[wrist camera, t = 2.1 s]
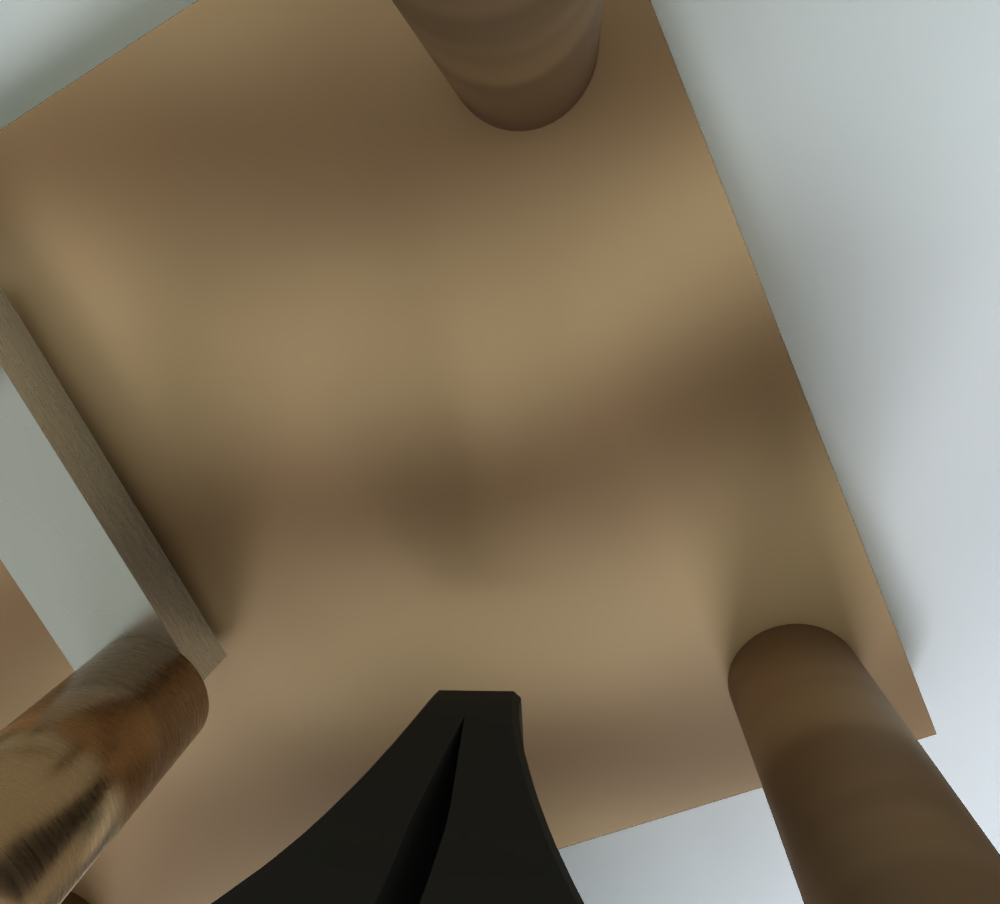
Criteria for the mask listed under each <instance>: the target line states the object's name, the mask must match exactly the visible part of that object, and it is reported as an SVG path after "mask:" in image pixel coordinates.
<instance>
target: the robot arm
mask: <svg viewBox="0 0 1000 904" xmlns="http://www.w3.org/2000/svg"><path fill="white" fill-rule="evenodd" d="M211 904H584V902H583V901H582V899H581V897H580V895H579V893H578V891H577V889H576V887H575V885H574V883H573V881H572V879H571V877H570V875H569V873H568V870H567V868H566V866H565V864H564V862H563V860H562V858H561V856H560V853H559V851H558V849H557V846H556V844H555V842H554V839H553V837H552V834H551V832H550V829H549V827H548V824H547V822H546V819H545V816H544V814H543V811H542V808H541V805H540V803H539V800H538V797H537V794H536V791H535V788H534V784H533V781H532V777H531V774H530V770H529V767H528V763H527V759H526V755H525V751H524V741H523V723H522V705H521V697H520V696H518V695H517V694H516V693H515V692H514V691H464V690H439V691H438V692H437V693H436V694H435V695H433V696H432V698H431V699H430V700H429V701H428V702H427V704H426V705H425V706H424V707H423V708H422V710H421V711H420V712H419V713H418V714H417V716H416V717H415V718H414V719H413V720H412V722H411V723H410V724H409V725H408V726H407V727H406V729H405V730H404V731H403V732H402V733H401V734H400V736H399V737H398V738H397V739H396V740H395V741H394V743H393V744H392V745H391V746H390V747H389V748H388V749H387V750H386V751H385V752H384V754H383V755H382V756H381V757H380V758H379V759H378V760H377V761H376V762H375V763H374V765H373V766H372V767H371V768H370V769H369V770H368V771H367V772H366V773H365V774H364V775H363V776H362V778H361V779H360V780H359V781H358V782H357V783H356V784H355V785H354V786H353V787H352V788H351V789H350V790H349V791H348V792H347V793H345V794H344V795H343V796H342V797H341V798H340V799H339V800H338V801H337V802H336V803H335V804H334V805H333V806H332V807H331V808H330V809H329V810H328V811H327V812H326V813H325V814H324V815H323V816H322V817H321V818H320V819H319V820H318V821H317V822H315V823H314V824H313V825H312V826H311V827H310V828H309V829H308V830H307V831H306V832H304V833H303V834H302V835H301V836H300V837H299V838H297V839H296V840H295V841H294V842H293V843H291V844H290V845H289V846H288V847H286V848H285V849H284V850H283V851H282V852H280V853H279V854H278V855H277V856H276V857H274V858H273V859H272V860H271V861H269V862H268V863H267V864H265V865H264V866H263V867H262V868H260V869H259V870H257V871H256V872H255V873H253V874H252V875H250V876H249V877H248V878H246V879H245V880H243V881H242V882H241V883H239V884H238V885H236V886H235V887H234V888H232V889H231V890H229V891H228V892H227V893H225V894H224V895H223V896H221V897H220V898H218V899H217V900H216V901H214V902H213V903H211Z"/></svg>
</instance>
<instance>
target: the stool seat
mask: <svg viewBox="0 0 1000 904" xmlns="http://www.w3.org/2000/svg"><path fill="white" fill-rule="evenodd" d="M0 285H1V287H2V289H3V290H4V292H5V294H6V295H7V297H8V299H9V300H10V302H11V303H12V305H13V307H14V308H15V310H16V312H17V313H18V315H19V317H20V318H21V320H22V321H23V323H24V325H25V326H26V328H27V330H28V331H29V333H30V335H31V336H32V338H33V339H34V341H35V343H36V344H37V346H38V348H39V349H40V351H41V352H42V354H43V356H44V357H45V359H46V361H47V362H48V364H49V366H50V367H51V369H52V370H53V372H54V374H55V375H56V377H57V379H58V380H59V382H60V384H61V385H62V387H63V388H64V390H65V392H66V393H67V395H68V397H69V398H70V400H71V402H72V403H73V405H74V406H75V408H76V410H77V411H78V413H79V415H80V416H81V418H82V420H83V421H84V423H85V424H86V426H87V428H88V429H89V431H90V433H91V434H92V436H93V437H94V439H95V441H96V442H97V444H98V446H99V447H100V449H101V451H102V452H103V454H104V455H105V457H106V459H107V460H108V462H109V464H110V465H111V467H112V469H113V470H114V472H115V473H116V475H117V477H118V478H119V480H120V482H121V483H122V485H123V487H124V488H125V490H126V491H127V493H128V495H129V496H130V498H131V500H132V501H133V503H134V505H135V506H136V508H137V509H138V511H139V513H140V514H141V516H142V518H143V519H144V521H145V522H146V524H147V526H148V527H149V529H150V531H151V532H152V534H153V536H154V537H155V539H156V540H157V542H158V544H159V545H160V547H161V549H162V550H163V552H164V554H165V555H166V557H167V558H168V560H169V562H170V563H171V565H172V567H173V568H174V570H175V572H176V573H177V575H178V576H179V578H180V580H181V581H182V583H183V585H184V586H185V588H186V590H187V591H188V593H189V594H190V596H191V598H192V599H193V601H194V603H195V604H196V606H197V607H198V609H199V611H200V612H201V614H202V616H203V617H204V619H205V621H206V622H207V624H208V625H209V627H210V629H211V630H212V632H213V634H214V635H215V637H216V639H217V640H218V642H219V643H220V645H221V647H222V648H223V650H224V652H225V653H226V655H227V656H226V657H225V658H224V659H223V660H222V661H221V662H220V663H219V664H218V666H217V667H216V668H215V669H214V670H213V671H212V672H211V673H210V674H209V676H208V677H207V678H206V679H205V680H204V684H205V686H206V689H207V693H208V699H209V712H208V717H207V720H206V723H205V725H204V727H203V728H202V730H201V731H200V732H199V734H198V735H197V736H196V737H195V739H194V740H193V741H192V742H191V744H190V745H189V746H188V747H187V749H186V750H185V751H184V752H183V753H182V755H181V756H180V757H179V758H178V760H177V761H176V762H175V763H174V765H173V766H172V767H171V768H170V769H169V771H168V772H167V773H166V774H165V776H164V777H163V778H162V779H161V781H160V782H159V783H158V784H157V785H156V787H155V788H154V789H153V790H152V792H151V793H150V794H149V795H148V797H147V798H146V799H145V800H144V802H143V803H142V804H141V805H140V806H139V808H138V809H137V810H136V811H135V813H134V814H133V815H132V816H131V818H130V819H129V820H128V821H127V822H126V824H125V825H124V826H123V827H122V829H121V830H120V831H119V832H118V834H117V835H116V836H115V837H114V838H113V840H112V841H111V842H110V843H109V845H108V846H107V847H106V848H105V850H104V851H103V852H102V853H101V854H100V856H99V857H98V858H97V859H96V861H95V862H94V863H93V864H92V866H91V867H90V868H89V869H88V870H87V872H86V873H85V874H84V875H83V877H82V878H81V879H80V880H79V882H78V883H77V884H76V885H75V886H74V888H73V889H72V890H71V891H70V893H69V894H68V895H67V896H66V898H65V899H64V900H63V901H62V903H61V904H211V903H213V902H214V901H216V900H217V899H218V898H220V897H221V896H223V895H224V894H225V893H227V892H228V891H229V890H231V889H232V888H234V887H235V886H236V885H238V884H239V883H241V882H242V881H243V880H245V879H246V878H248V877H249V876H250V875H252V874H253V873H255V872H256V871H257V870H259V869H260V868H262V867H263V866H264V865H265V864H267V863H268V862H269V861H271V860H272V859H273V858H274V857H276V856H277V855H278V854H279V853H280V852H282V851H283V850H284V849H285V848H286V847H288V846H289V845H290V844H291V843H293V842H294V841H295V840H296V839H297V838H299V837H300V836H301V835H302V834H303V833H304V832H306V831H307V830H308V829H309V828H310V827H311V826H312V825H313V824H314V823H315V822H317V821H318V820H319V819H320V818H321V817H322V816H323V815H324V814H325V813H326V812H327V811H328V810H329V809H330V808H331V807H332V806H333V805H334V804H335V803H336V802H337V801H338V800H339V799H340V798H341V797H342V796H343V795H344V794H345V793H347V792H348V791H349V790H350V789H351V788H352V787H353V786H354V785H355V784H356V783H357V782H358V781H359V780H360V779H361V778H362V776H363V775H364V774H365V773H366V772H367V771H368V770H369V769H370V768H371V767H372V766H373V765H374V763H375V762H376V761H377V760H378V759H379V758H380V757H381V756H382V755H383V754H384V752H385V751H386V750H387V749H388V748H389V747H390V746H391V745H392V744H393V743H394V741H395V740H396V739H397V738H398V737H399V736H400V734H401V733H402V732H403V731H404V730H405V729H406V727H407V726H408V725H409V724H410V723H411V722H412V720H413V719H414V718H415V717H416V716H417V714H418V713H419V712H420V711H421V710H422V708H423V707H424V706H425V705H426V704H427V702H428V701H429V700H430V699H431V698H432V696H433V695H435V694H436V693H437V692H438V691H439V690H464V691H514V692H515V693H516V694H517V695H518V696H520V697H521V705H522V723H523V741H524V751H525V755H526V759H527V763H528V767H529V770H530V774H531V777H532V781H533V784H534V788H535V791H536V794H537V797H538V800H539V803H540V805H541V808H542V811H543V814H544V816H545V819H546V822H547V824H548V827H549V829H550V832H551V834H552V837H553V839H554V842H555V844H556V846H557V849H561V848H564V847H568V846H571V845H574V844H577V843H581V842H584V841H587V840H590V839H594V838H597V837H600V836H604V835H607V834H610V833H613V832H617V831H620V830H623V829H627V828H630V827H633V826H636V825H640V824H643V823H646V822H650V821H653V820H656V819H659V818H663V817H666V816H669V815H673V814H676V813H679V812H682V811H686V810H689V809H692V808H696V807H699V806H702V805H705V804H709V803H712V802H715V801H718V800H722V799H725V798H728V797H732V796H735V795H738V794H741V793H745V792H748V791H751V790H755V789H758V788H761V787H763V790H764V793H765V795H766V798H767V801H768V804H769V807H770V809H771V812H772V815H773V818H774V820H775V823H776V826H777V829H778V832H779V834H780V837H781V840H782V843H783V846H784V848H785V851H786V854H787V857H788V860H789V862H790V865H791V868H792V871H793V874H794V876H795V879H796V882H797V885H798V888H799V890H800V893H801V896H802V899H803V902H804V904H1000V854H999V853H998V852H997V850H996V849H995V847H994V846H993V845H992V843H991V842H990V841H989V839H988V838H987V836H986V835H985V834H984V832H983V831H982V829H981V828H980V827H979V825H978V824H977V822H976V821H975V820H974V818H973V817H972V816H971V814H970V813H969V811H968V810H967V809H966V807H965V806H964V804H963V803H962V802H961V800H960V799H959V797H958V796H957V795H956V793H955V792H954V791H953V789H952V788H951V786H950V785H949V784H948V782H947V781H946V779H945V778H944V777H943V775H942V774H941V772H940V771H939V770H938V768H937V767H936V766H935V764H934V763H933V761H932V760H931V759H930V757H929V756H928V754H927V753H926V752H925V750H924V749H923V747H922V746H921V745H920V743H919V742H918V741H917V740H919V739H922V738H925V737H929V736H932V735H935V734H936V731H935V729H934V726H933V724H932V721H931V718H930V716H929V713H928V711H927V708H926V706H925V703H924V700H923V698H922V695H921V693H920V690H919V688H918V685H917V683H916V680H915V677H914V675H913V672H912V670H911V667H910V665H909V662H908V659H907V657H906V654H905V652H904V649H903V647H902V644H901V642H900V639H899V636H898V634H897V631H896V629H895V626H894V624H893V621H892V618H891V616H890V613H889V611H888V608H887V606H886V603H885V601H884V598H883V595H882V593H881V590H880V588H879V585H878V583H877V580H876V577H875V575H874V572H873V570H872V567H871V565H870V562H869V560H868V557H867V554H866V552H865V549H864V547H863V544H862V542H861V539H860V537H859V534H858V531H857V529H856V526H855V524H854V521H853V519H852V516H851V513H850V511H849V508H848V506H847V503H846V501H845V498H844V496H843V493H842V490H841V488H840V485H839V483H838V480H837V478H836V475H835V472H834V470H833V467H832V465H831V462H830V460H829V457H828V455H827V452H826V449H825V447H824V444H823V442H822V439H821V437H820V434H819V431H818V429H817V426H816V424H815V421H814V419H813V416H812V414H811V411H810V408H809V406H808V403H807V401H806V398H805V396H804V393H803V390H802V388H801V385H800V383H799V380H798V378H797V375H796V373H795V370H794V367H793V365H792V362H791V360H790V357H789V355H788V352H787V349H786V347H785V344H784V342H783V339H782V337H781V334H780V332H779V329H778V326H777V324H776V321H775V319H774V316H773V314H772V311H771V308H770V306H769V303H768V301H767V298H766V296H765V293H764V291H763V288H762V285H761V283H760V280H759V278H758V275H757V273H756V270H755V267H754V265H753V262H752V260H751V257H750V255H749V252H748V250H747V247H746V244H745V242H744V239H743V237H742V234H741V232H740V229H739V227H738V224H737V221H736V219H735V216H734V214H733V211H732V209H731V206H730V203H729V201H728V198H727V196H726V193H725V191H724V188H723V186H722V183H721V180H720V178H719V175H718V173H717V170H716V168H715V165H714V162H713V160H712V157H711V155H710V152H709V150H708V147H707V145H706V142H705V139H704V137H703V134H702V132H701V129H700V127H699V124H698V121H697V119H696V116H695V114H694V111H693V109H692V106H691V104H690V101H689V98H688V96H687V93H686V91H685V88H684V86H683V83H682V80H681V78H680V75H679V73H678V70H677V68H676V65H675V63H674V60H673V57H672V55H671V52H670V50H669V47H668V45H667V42H666V39H665V37H664V34H663V32H662V29H661V27H660V24H659V22H658V19H657V16H656V14H655V11H654V9H653V6H652V4H651V1H650V0H197V1H196V2H194V3H193V4H191V5H190V6H188V7H187V8H185V9H184V10H182V11H181V12H179V13H178V14H176V15H175V16H173V17H171V18H170V19H168V20H167V21H165V22H164V23H162V24H161V25H159V26H158V27H156V28H155V29H153V30H152V31H150V32H149V33H147V34H146V35H144V36H143V37H141V38H139V39H138V40H136V41H135V42H133V43H132V44H130V45H129V46H127V47H126V48H124V49H123V50H121V51H120V52H118V53H117V54H115V55H114V56H112V57H111V58H109V59H108V60H106V61H104V62H103V63H101V64H100V65H98V66H97V67H95V68H94V69H92V70H91V71H89V72H88V73H86V74H85V75H83V76H82V77H80V78H79V79H77V80H76V81H74V82H72V83H71V84H69V85H68V86H66V87H65V88H63V89H62V90H60V91H59V92H57V93H56V94H54V95H53V96H51V97H50V98H48V99H47V100H45V101H44V102H42V103H40V104H39V105H37V106H36V107H34V108H33V109H31V110H30V111H28V112H27V113H25V114H24V115H22V116H21V117H19V118H18V119H16V120H15V121H13V122H12V123H10V124H8V125H7V126H5V127H4V128H2V129H1V130H0ZM73 672H74V669H73V668H72V666H71V665H70V663H69V662H68V660H67V659H66V657H65V656H64V654H63V653H62V651H61V650H60V648H59V647H58V645H57V644H56V642H55V641H54V639H53V638H52V636H51V635H50V633H49V632H48V630H47V629H46V627H45V626H44V624H43V623H42V621H41V620H40V618H39V617H38V615H37V614H36V612H35V611H34V609H33V608H32V606H31V604H30V603H29V601H28V600H27V598H26V597H25V595H24V594H23V592H22V591H21V589H20V588H19V586H18V585H17V583H16V582H15V580H14V579H13V577H12V576H11V574H10V573H9V571H8V570H7V568H6V567H5V565H4V564H3V562H2V561H1V559H0V731H1V730H2V729H4V728H5V727H6V726H7V725H9V724H10V723H11V722H12V721H14V720H15V719H16V718H17V717H18V716H20V715H21V714H22V713H23V712H25V711H26V710H27V709H28V708H30V707H31V706H32V705H33V704H35V703H36V702H37V701H38V700H40V699H41V698H42V697H43V696H45V695H46V694H47V693H48V692H50V691H51V690H52V689H53V688H55V687H56V686H57V685H58V684H60V683H61V682H62V681H63V680H65V679H66V678H67V677H68V676H69V675H71V674H72V673H73Z"/></svg>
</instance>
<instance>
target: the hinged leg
mask: <svg viewBox="0 0 1000 904" xmlns="http://www.w3.org/2000/svg"><path fill="white" fill-rule="evenodd" d="M0 559H1V561H2V562H3V564H4V565H5V567H6V568H7V570H8V571H9V573H10V574H11V576H12V577H13V579H14V580H15V582H16V583H17V585H18V586H19V588H20V589H21V591H22V592H23V594H24V595H25V597H26V598H27V600H28V601H29V603H30V604H31V606H32V608H33V609H34V611H35V612H36V614H37V615H38V617H39V618H40V620H41V621H42V623H43V624H44V626H45V627H46V629H47V630H48V632H49V633H50V635H51V636H52V638H53V639H54V641H55V642H56V644H57V645H58V647H59V648H60V650H61V651H62V653H63V654H64V656H65V657H66V659H67V660H68V662H69V663H70V665H71V666H72V668H73V669H74V672H73V673H72V674H71V675H69V676H68V677H67V678H66V679H65V680H63V681H62V682H61V683H60V684H58V685H57V686H56V687H55V688H53V689H52V690H51V691H50V692H48V693H47V694H46V695H45V696H43V697H42V698H41V699H40V700H38V701H37V702H36V703H35V704H33V705H32V706H31V707H30V708H28V709H27V710H26V711H25V712H23V713H22V714H21V715H20V716H18V717H17V718H16V719H15V720H14V721H12V722H11V723H10V724H9V725H7V726H6V727H5V728H4V729H2V730H1V731H0V904H61V903H62V901H63V900H64V899H65V898H66V896H67V895H68V894H69V893H70V891H71V890H72V889H73V888H74V886H75V885H76V884H77V883H78V882H79V880H80V879H81V878H82V877H83V875H84V874H85V873H86V872H87V870H88V869H89V868H90V867H91V866H92V864H93V863H94V862H95V861H96V859H97V858H98V857H99V856H100V854H101V853H102V852H103V851H104V850H105V848H106V847H107V846H108V845H109V843H110V842H111V841H112V840H113V838H114V837H115V836H116V835H117V834H118V832H119V831H120V830H121V829H122V827H123V826H124V825H125V824H126V822H127V821H128V820H129V819H130V818H131V816H132V815H133V814H134V813H135V811H136V810H137V809H138V808H139V806H140V805H141V804H142V803H143V802H144V800H145V799H146V798H147V797H148V795H149V794H150V793H151V792H152V790H153V789H154V788H155V787H156V785H157V784H158V783H159V782H160V781H161V779H162V778H163V777H164V776H165V774H166V773H167V772H168V771H169V769H170V768H171V767H172V766H173V765H174V763H175V762H176V761H177V760H178V758H179V757H180V756H181V755H182V753H183V752H184V751H185V750H186V749H187V747H188V746H189V745H190V744H191V742H192V741H193V740H194V739H195V737H196V736H197V735H198V734H199V732H200V731H201V730H202V728H203V727H204V725H205V723H206V720H207V717H208V712H209V699H208V693H207V689H206V686H205V684H204V680H205V679H206V678H207V677H208V676H209V674H210V673H211V672H212V671H213V670H214V669H215V668H216V667H217V666H218V664H219V663H220V662H221V661H222V660H223V659H224V658H225V657H226V656H227V655H226V653H225V652H224V650H223V648H222V647H221V645H220V643H219V642H218V640H217V639H216V637H215V635H214V634H213V632H212V630H211V629H210V627H209V625H208V624H207V622H206V621H205V619H204V617H203V616H202V614H201V612H200V611H199V609H198V607H197V606H196V604H195V603H194V601H193V599H192V598H191V596H190V594H189V593H188V591H187V590H186V588H185V586H184V585H183V583H182V581H181V580H180V578H179V576H178V575H177V573H176V572H175V570H174V568H173V567H172V565H171V563H170V562H169V560H168V558H167V557H166V555H165V554H164V552H163V550H162V549H161V547H160V545H159V544H158V542H157V540H156V539H155V537H154V536H153V534H152V532H151V531H150V529H149V527H148V526H147V524H146V522H145V521H144V519H143V518H142V516H141V514H140V513H139V511H138V509H137V508H136V506H135V505H134V503H133V501H132V500H131V498H130V496H129V495H128V493H127V491H126V490H125V488H124V487H123V485H122V483H121V482H120V480H119V478H118V477H117V475H116V473H115V472H114V470H113V469H112V467H111V465H110V464H109V462H108V460H107V459H106V457H105V455H104V454H103V452H102V451H101V449H100V447H99V446H98V444H97V442H96V441H95V439H94V437H93V436H92V434H91V433H90V431H89V429H88V428H87V426H86V424H85V423H84V421H83V420H82V418H81V416H80V415H79V413H78V411H77V410H76V408H75V406H74V405H73V403H72V402H71V400H70V398H69V397H68V395H67V393H66V392H65V390H64V388H63V387H62V385H61V384H60V382H59V380H58V379H57V377H56V375H55V374H54V372H53V370H52V369H51V367H50V366H49V364H48V362H47V361H46V359H45V357H44V356H43V354H42V352H41V351H40V349H39V348H38V346H37V344H36V343H35V341H34V339H33V338H32V336H31V335H30V333H29V331H28V330H27V328H26V326H25V325H24V323H23V321H22V320H21V318H20V317H19V315H18V313H17V312H16V310H15V308H14V307H13V305H12V303H11V302H10V300H9V299H8V297H7V295H6V294H5V292H4V290H3V289H2V287H1V285H0Z"/></svg>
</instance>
